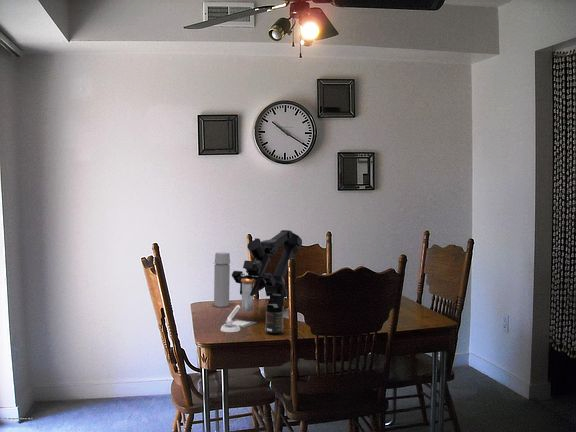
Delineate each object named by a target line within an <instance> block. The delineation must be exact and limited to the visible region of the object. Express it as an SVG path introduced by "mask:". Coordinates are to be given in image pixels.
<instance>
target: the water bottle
mask: <svg viewBox="0 0 576 432" xmlns="http://www.w3.org/2000/svg"><path fill="white" fill-rule="evenodd" d="M230 257H231V256H230V252H227V251H226V252H225V251H220V252H219V251H218V252H215V255H214V262H213V264H214V269H213V270H214V273H213V275H214V280H213V281H214V282H213V283H214V285H213V286H214V287H213V288H214V289H213V291H214V292H213V301H214V302H213V305H214V306H215V307H216V308H217V307H218V308H226V307H229V305H230V280H231V279H230V276H231V275H230V272H231V271H230V270H231V269H230V267H231V265H230V264H231V258H230Z"/></svg>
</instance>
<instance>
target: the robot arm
mask: <svg viewBox="0 0 576 432" xmlns="http://www.w3.org/2000/svg"><path fill="white" fill-rule="evenodd" d="M281 245H282V246H283V249H284V250H283V252H282V255H281V257H280V260H279V262H278V265H277V266H276V268H275V271H274V274H272V273H266V268H267V265H268V264H271V263H272V261H271V258H270V257H269V256H274V255H275V254H276V253H277V252H278V248H279V247H280V246H281ZM302 245H303V240H302V238H301V237H300V236H299V235H297V234H296V233H294V232H293V231H292V230H289V229H283V230H280V232H278V233H277V234H276V235H275V236H273V237H272V238H270V239H265V240H262V241H261V239H260V238H254V239H253V240H251V241H250V242H249V243H248V244H247V249H248V252H250V255H251V257H252V258H253V259H254V260H244V262H243V265H242V268H243V269H245V272H246V274H245V273H244V272H243V271H242V270H233V271H232V273H231V277H232V279H233V280H234V281H235V283H237V284H240V285H239V286H240V288H239V294H240V296H242V282H241V278H254V279H255V282H254V287H253V290H252V292H251V296H253V297H254V295H256V294H257V293H258V292H260V291H261V290H263V289H265V295H266V297H269V298H268V304H280V305H283V312H284V311H285V310H284V300H285V299H284V298H287V297H288V293H289V292H288V290H287V288H286V283H285V278H286V275H287V272H288V270H289V267H288V260H289V259H290V258H292V259H293V258H294V255H295V254H296V253H297V252H299V251H300V249H301V247H302ZM268 304H267V305H268Z"/></svg>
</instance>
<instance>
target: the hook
mask: <svg viewBox="0 0 576 432" xmlns="http://www.w3.org/2000/svg"><path fill="white" fill-rule="evenodd" d="M240 309H241V306H240V305H239V304H237V305H236V306H235V307H234V308H233V310H232V311H231V312H230V314H229V315H228V316H227V318H226V320H225V323H227V324H225V325H223V324H222V326H221V327H220V331H221V332H223V333H235V332H236V333H237V332H239V331H241V328H240V327H239V325H237V324H233V321H232V320H233V318H234V317H235V316H236V315H237V313H238V312H239V310H240Z"/></svg>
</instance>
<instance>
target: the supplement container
mask: <svg viewBox="0 0 576 432" xmlns="http://www.w3.org/2000/svg"><path fill="white" fill-rule="evenodd" d="M283 307H284V304H283V305H280V304H266V305H265V333H266V334H267V335H273V336H277V335H281V334H283V333H284V311H283Z"/></svg>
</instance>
